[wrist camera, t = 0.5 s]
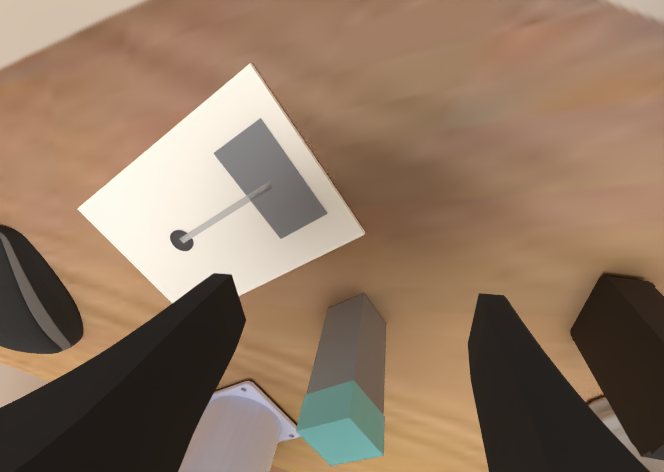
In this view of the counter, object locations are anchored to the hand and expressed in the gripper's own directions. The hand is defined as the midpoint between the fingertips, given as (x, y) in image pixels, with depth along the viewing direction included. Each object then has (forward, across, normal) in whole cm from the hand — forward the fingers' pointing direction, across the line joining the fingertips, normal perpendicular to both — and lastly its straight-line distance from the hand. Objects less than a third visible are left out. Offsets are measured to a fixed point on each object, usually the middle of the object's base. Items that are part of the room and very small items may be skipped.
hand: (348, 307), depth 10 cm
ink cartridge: (+11, -14, +9) cm, 20 cm away
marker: (+10, +2, +11) cm, 15 cm away
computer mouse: (+9, +28, +10) cm, 32 cm away
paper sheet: (+10, +10, +3) cm, 15 cm away
